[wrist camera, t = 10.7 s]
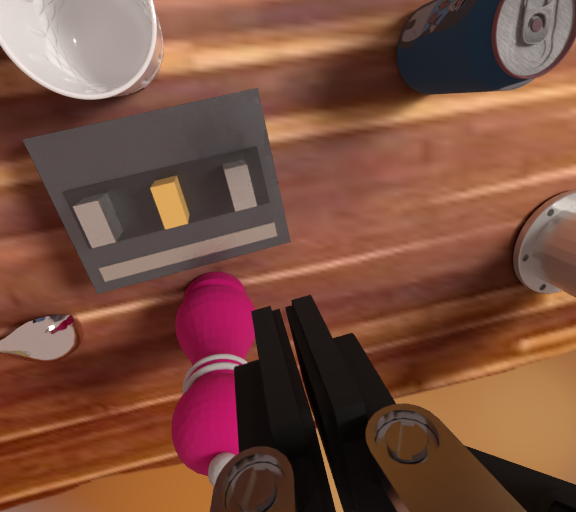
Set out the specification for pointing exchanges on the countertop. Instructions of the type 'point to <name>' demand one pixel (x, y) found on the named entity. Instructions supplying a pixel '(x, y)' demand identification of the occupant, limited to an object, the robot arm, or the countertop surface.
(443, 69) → the soda can
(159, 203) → the breaker paddle
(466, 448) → the robot arm
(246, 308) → the pepper mill
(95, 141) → the breaker panel
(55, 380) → the countertop surface
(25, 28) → the white cup
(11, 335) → the silver spoon
